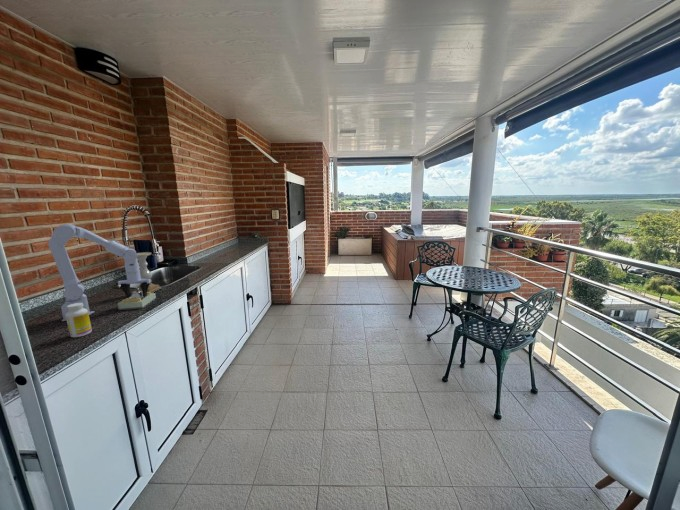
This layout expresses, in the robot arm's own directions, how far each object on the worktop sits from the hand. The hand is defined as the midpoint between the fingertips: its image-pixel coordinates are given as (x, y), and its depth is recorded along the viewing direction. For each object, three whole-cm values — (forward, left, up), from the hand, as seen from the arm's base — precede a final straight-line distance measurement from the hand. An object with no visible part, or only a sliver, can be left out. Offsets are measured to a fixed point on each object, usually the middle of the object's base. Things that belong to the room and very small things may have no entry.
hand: (137, 296), depth 145 cm
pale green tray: (0, 0, -4) cm, 4 cm away
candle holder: (+22, +6, -4) cm, 23 cm away
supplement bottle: (-33, +5, -4) cm, 34 cm away
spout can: (0, 0, -3) cm, 3 cm away
